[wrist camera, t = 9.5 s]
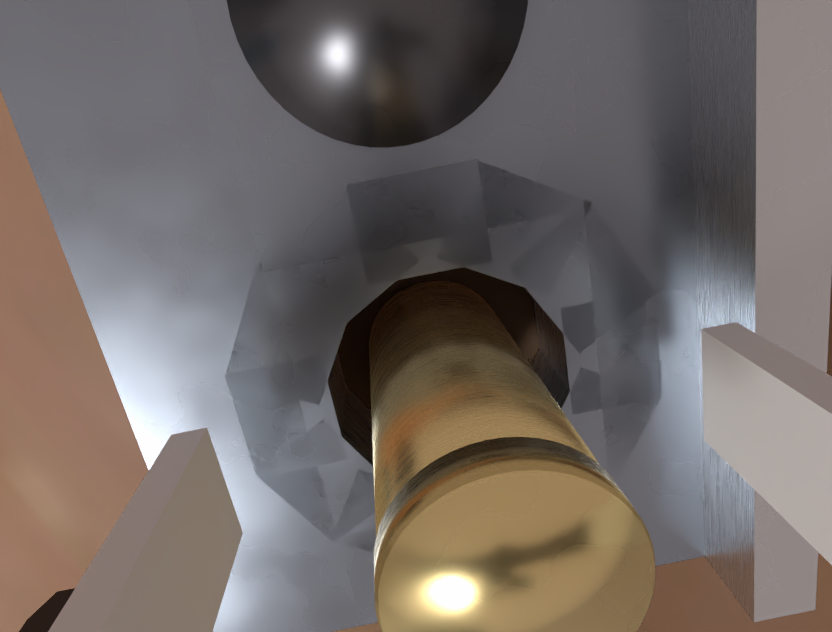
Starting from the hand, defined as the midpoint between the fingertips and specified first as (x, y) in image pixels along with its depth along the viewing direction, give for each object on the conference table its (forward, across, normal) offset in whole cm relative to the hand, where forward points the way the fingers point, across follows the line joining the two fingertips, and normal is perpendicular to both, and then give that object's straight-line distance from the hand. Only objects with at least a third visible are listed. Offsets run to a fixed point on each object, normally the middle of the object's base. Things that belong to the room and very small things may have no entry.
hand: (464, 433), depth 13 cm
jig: (+5, 0, +4) cm, 7 cm away
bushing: (+5, 0, 0) cm, 5 cm away
